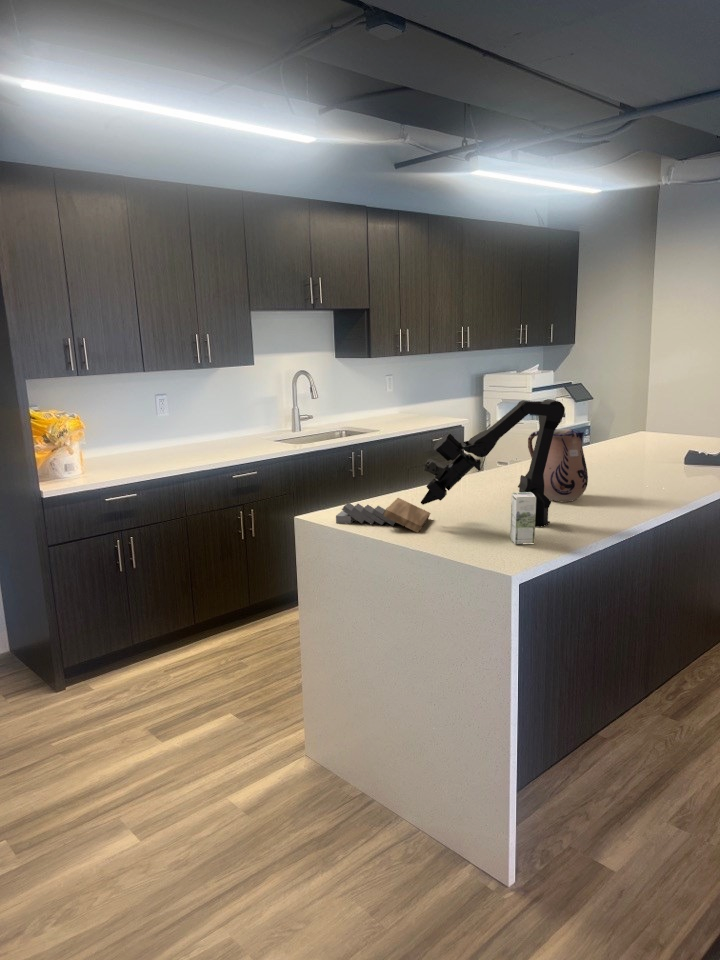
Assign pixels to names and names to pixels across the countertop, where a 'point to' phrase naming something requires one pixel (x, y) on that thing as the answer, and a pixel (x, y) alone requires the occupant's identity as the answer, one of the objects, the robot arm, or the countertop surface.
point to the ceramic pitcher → (564, 465)
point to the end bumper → (344, 518)
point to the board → (407, 514)
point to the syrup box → (523, 517)
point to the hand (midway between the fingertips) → (422, 502)
